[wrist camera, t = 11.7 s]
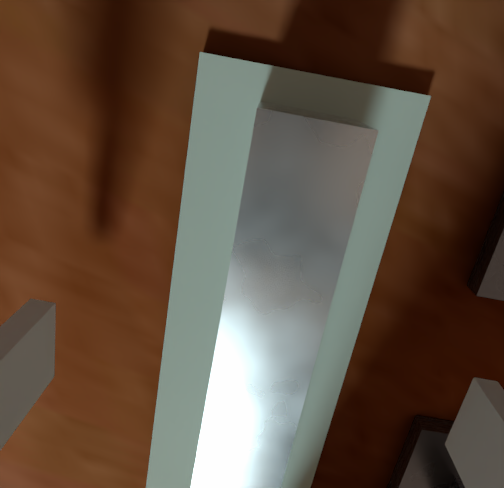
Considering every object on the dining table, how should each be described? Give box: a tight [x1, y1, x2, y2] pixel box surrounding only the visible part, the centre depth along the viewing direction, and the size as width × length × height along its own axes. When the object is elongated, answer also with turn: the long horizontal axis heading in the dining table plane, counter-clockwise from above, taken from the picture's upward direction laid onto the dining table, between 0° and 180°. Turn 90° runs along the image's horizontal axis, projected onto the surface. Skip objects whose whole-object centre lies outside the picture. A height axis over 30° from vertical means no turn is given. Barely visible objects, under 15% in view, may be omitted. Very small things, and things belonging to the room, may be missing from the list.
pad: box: [146, 52, 431, 488], centre depth 17 cm, size 18×7×1 cm, turn 170°
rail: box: [191, 101, 379, 488], centre depth 15 cm, size 16×3×3 cm, turn 170°
